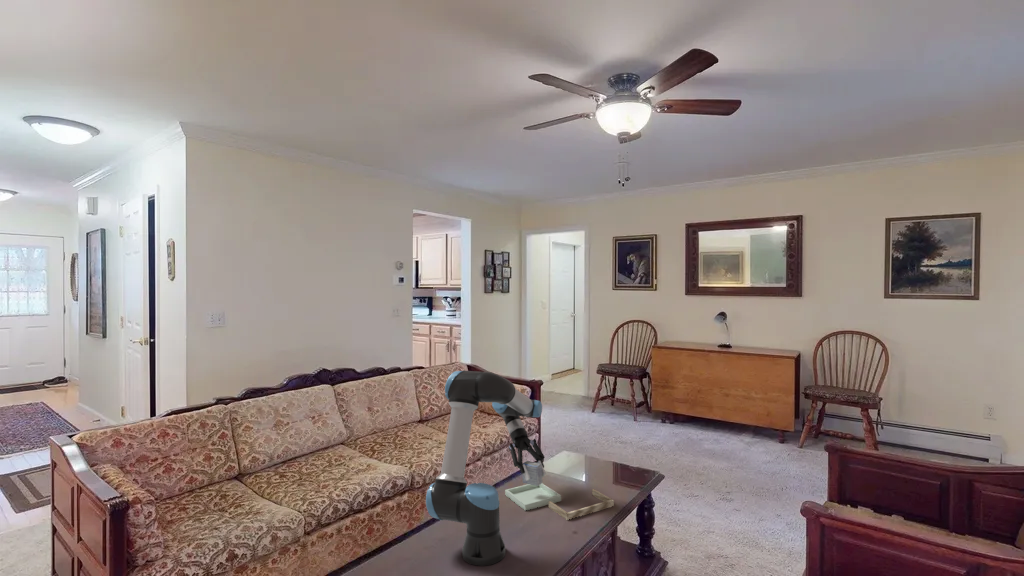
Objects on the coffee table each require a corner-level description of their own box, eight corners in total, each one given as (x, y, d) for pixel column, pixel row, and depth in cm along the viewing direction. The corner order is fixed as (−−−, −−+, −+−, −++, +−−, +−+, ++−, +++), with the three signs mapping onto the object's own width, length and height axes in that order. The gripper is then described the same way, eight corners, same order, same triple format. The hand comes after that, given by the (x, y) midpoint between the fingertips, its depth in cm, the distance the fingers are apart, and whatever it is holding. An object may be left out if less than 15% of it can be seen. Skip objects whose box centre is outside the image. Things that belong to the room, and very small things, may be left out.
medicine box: (542, 482, 219) (542, 463, 219) (537, 486, 216) (537, 466, 216) (527, 479, 224) (526, 460, 224) (522, 483, 220) (521, 463, 220)
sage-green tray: (525, 510, 207) (525, 505, 207) (505, 495, 223) (505, 489, 223) (561, 500, 216) (560, 495, 216) (539, 486, 231) (539, 481, 231)
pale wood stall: (567, 520, 198) (566, 514, 198) (548, 507, 210) (548, 501, 210) (614, 506, 209) (613, 500, 209) (594, 494, 221) (593, 489, 221)
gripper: (533, 431, 238) (552, 476, 224) (495, 439, 228) (513, 486, 214) (538, 423, 233) (558, 468, 219) (500, 430, 223) (518, 478, 209)
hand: (536, 477), depth 217 cm, fingers closed on medicine box, 7 cm apart
